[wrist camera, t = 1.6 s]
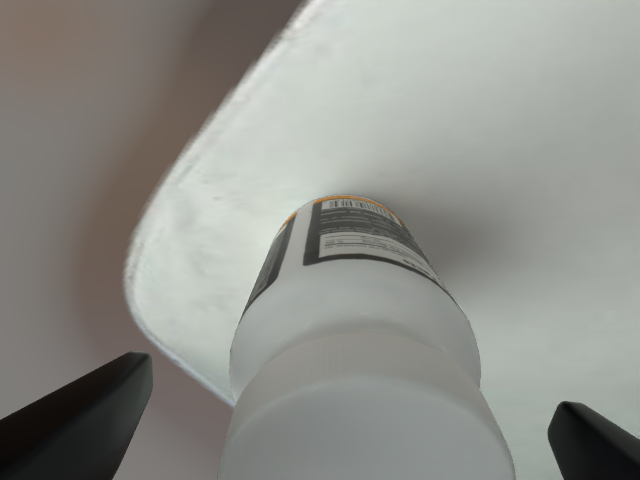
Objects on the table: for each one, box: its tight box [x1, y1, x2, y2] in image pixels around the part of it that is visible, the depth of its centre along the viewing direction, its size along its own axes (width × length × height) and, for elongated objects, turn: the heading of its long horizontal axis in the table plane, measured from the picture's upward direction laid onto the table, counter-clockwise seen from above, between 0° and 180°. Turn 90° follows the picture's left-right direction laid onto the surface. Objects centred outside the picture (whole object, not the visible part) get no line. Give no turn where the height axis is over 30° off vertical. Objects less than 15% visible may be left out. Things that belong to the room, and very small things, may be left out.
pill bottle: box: [217, 195, 516, 480], centre depth 10 cm, size 6×6×10 cm
